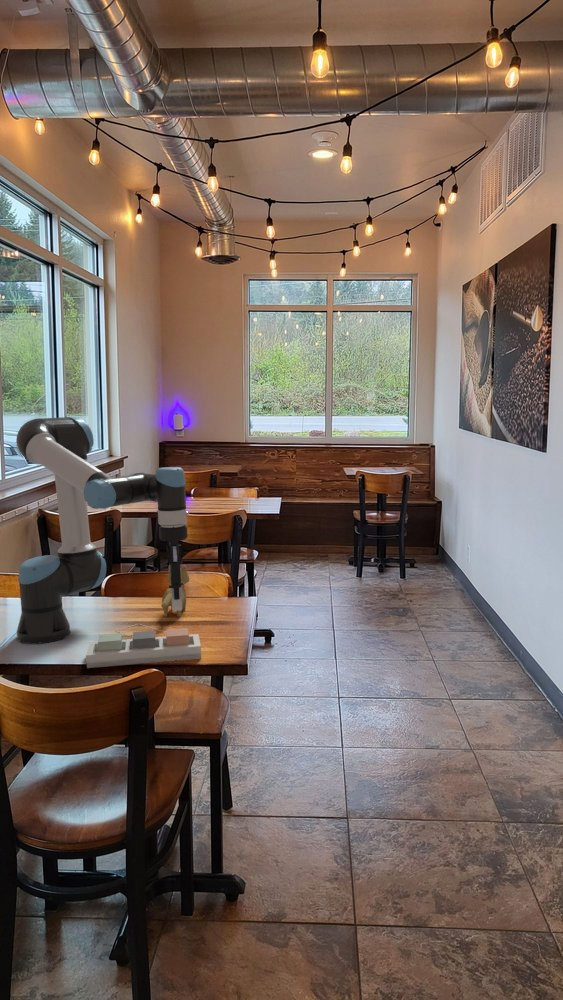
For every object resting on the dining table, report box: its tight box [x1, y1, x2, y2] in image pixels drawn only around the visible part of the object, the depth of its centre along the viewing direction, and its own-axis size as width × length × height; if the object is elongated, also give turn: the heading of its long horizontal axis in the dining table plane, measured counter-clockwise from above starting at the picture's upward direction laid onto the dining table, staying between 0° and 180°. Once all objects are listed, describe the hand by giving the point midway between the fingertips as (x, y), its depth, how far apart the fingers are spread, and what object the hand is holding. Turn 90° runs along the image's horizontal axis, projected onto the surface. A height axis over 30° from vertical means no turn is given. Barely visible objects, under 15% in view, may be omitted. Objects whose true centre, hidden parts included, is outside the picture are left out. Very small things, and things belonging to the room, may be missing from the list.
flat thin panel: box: [115, 623, 165, 638], centre depth 211 cm, size 9×1×15 cm
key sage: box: [97, 632, 123, 651], centre depth 189 cm, size 6×6×2 cm
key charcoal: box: [132, 629, 156, 648], centre depth 190 cm, size 6×6×2 cm
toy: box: [161, 564, 190, 618], centre depth 226 cm, size 7×24×15 cm, turn 174°
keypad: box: [85, 633, 202, 669], centre depth 191 cm, size 30×10×4 cm, turn 101°
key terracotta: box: [165, 627, 190, 645], centre depth 192 cm, size 6×6×2 cm
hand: (177, 609), depth 191 cm, fingers closed
